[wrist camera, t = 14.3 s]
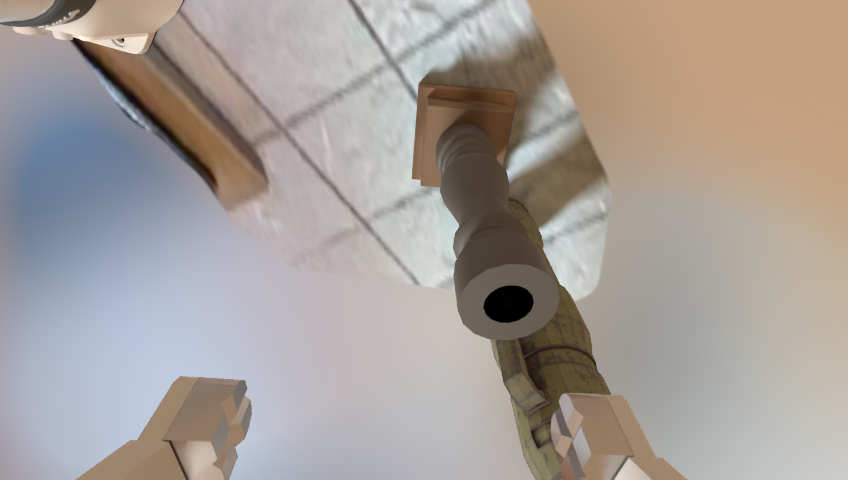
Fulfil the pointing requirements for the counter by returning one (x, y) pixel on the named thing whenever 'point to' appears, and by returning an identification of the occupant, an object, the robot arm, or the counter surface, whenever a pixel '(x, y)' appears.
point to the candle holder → (491, 242)
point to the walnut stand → (453, 107)
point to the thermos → (546, 370)
